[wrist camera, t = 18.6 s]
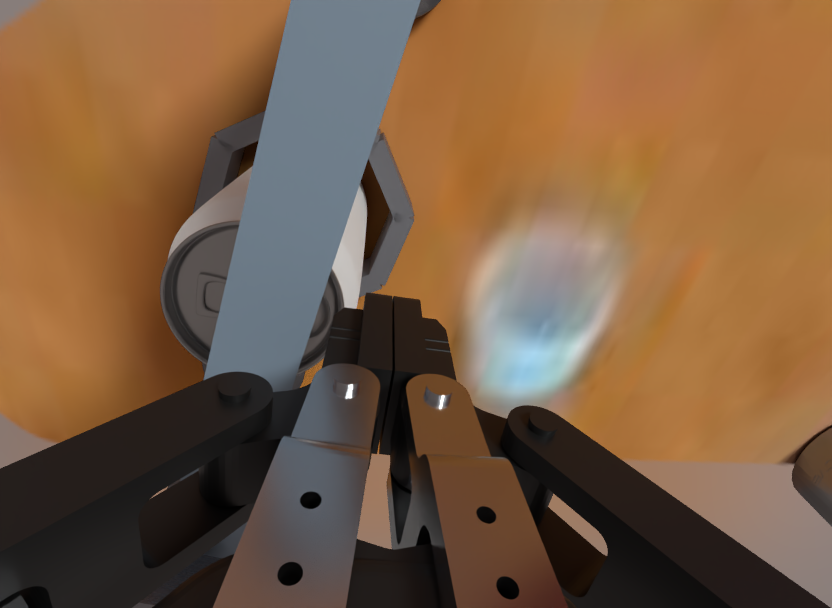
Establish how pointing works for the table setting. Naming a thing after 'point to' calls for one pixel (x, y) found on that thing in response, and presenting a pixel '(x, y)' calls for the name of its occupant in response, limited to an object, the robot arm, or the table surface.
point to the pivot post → (426, 7)
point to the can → (210, 261)
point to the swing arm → (304, 183)
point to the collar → (378, 267)
